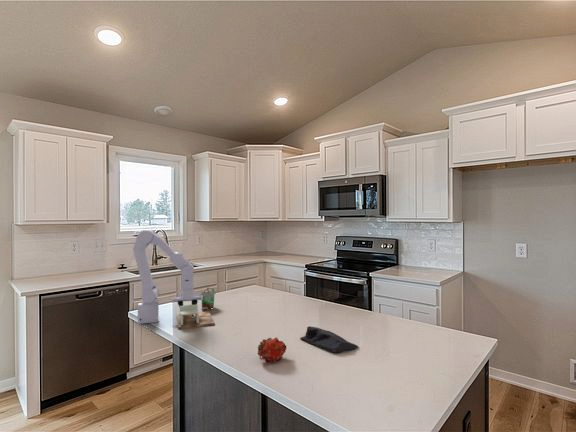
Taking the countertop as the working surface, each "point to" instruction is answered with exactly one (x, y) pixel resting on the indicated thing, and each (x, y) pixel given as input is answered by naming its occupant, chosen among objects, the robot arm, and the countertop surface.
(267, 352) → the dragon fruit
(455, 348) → the countertop surface
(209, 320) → the puzzle board
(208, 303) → the food container
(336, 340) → the charcoal beanbag
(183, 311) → the sliding cover
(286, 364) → the countertop surface
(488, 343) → the countertop surface
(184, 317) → the maple block
